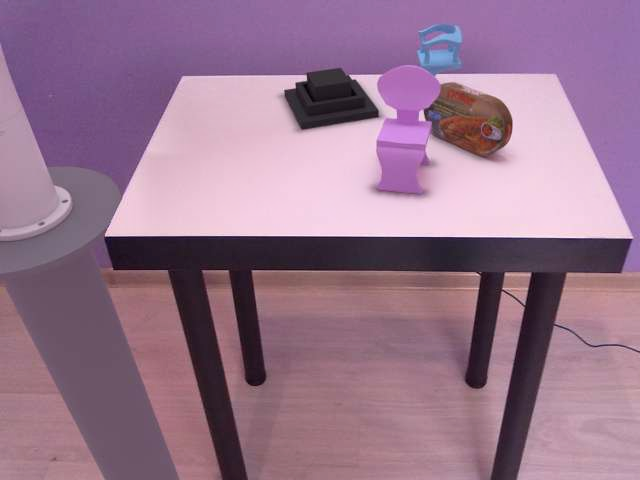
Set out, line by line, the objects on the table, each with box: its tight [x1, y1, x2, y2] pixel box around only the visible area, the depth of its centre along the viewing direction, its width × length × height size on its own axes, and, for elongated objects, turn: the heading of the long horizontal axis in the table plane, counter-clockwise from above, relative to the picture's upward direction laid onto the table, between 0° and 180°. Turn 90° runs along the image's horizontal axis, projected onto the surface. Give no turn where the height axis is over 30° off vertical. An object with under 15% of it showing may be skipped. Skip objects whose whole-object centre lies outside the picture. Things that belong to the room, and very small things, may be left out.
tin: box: [422, 81, 514, 157], centre depth 91 cm, size 15×3×8 cm, turn 42°
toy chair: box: [375, 64, 441, 195], centre depth 82 cm, size 8×9×15 cm
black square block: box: [305, 67, 351, 102], centre depth 103 cm, size 6×6×4 cm
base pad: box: [283, 74, 380, 130], centre depth 104 cm, size 13×13×3 cm
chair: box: [416, 23, 463, 85], centre depth 103 cm, size 8×8×12 cm
